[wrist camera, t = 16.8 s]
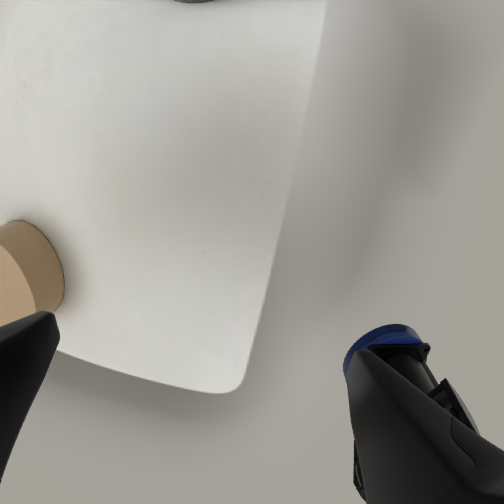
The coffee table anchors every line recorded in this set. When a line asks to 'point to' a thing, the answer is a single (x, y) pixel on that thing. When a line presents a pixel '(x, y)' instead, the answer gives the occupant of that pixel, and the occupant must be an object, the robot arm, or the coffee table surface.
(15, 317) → the hat box
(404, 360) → the robot arm
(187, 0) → the stand
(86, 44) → the coffee table surface
